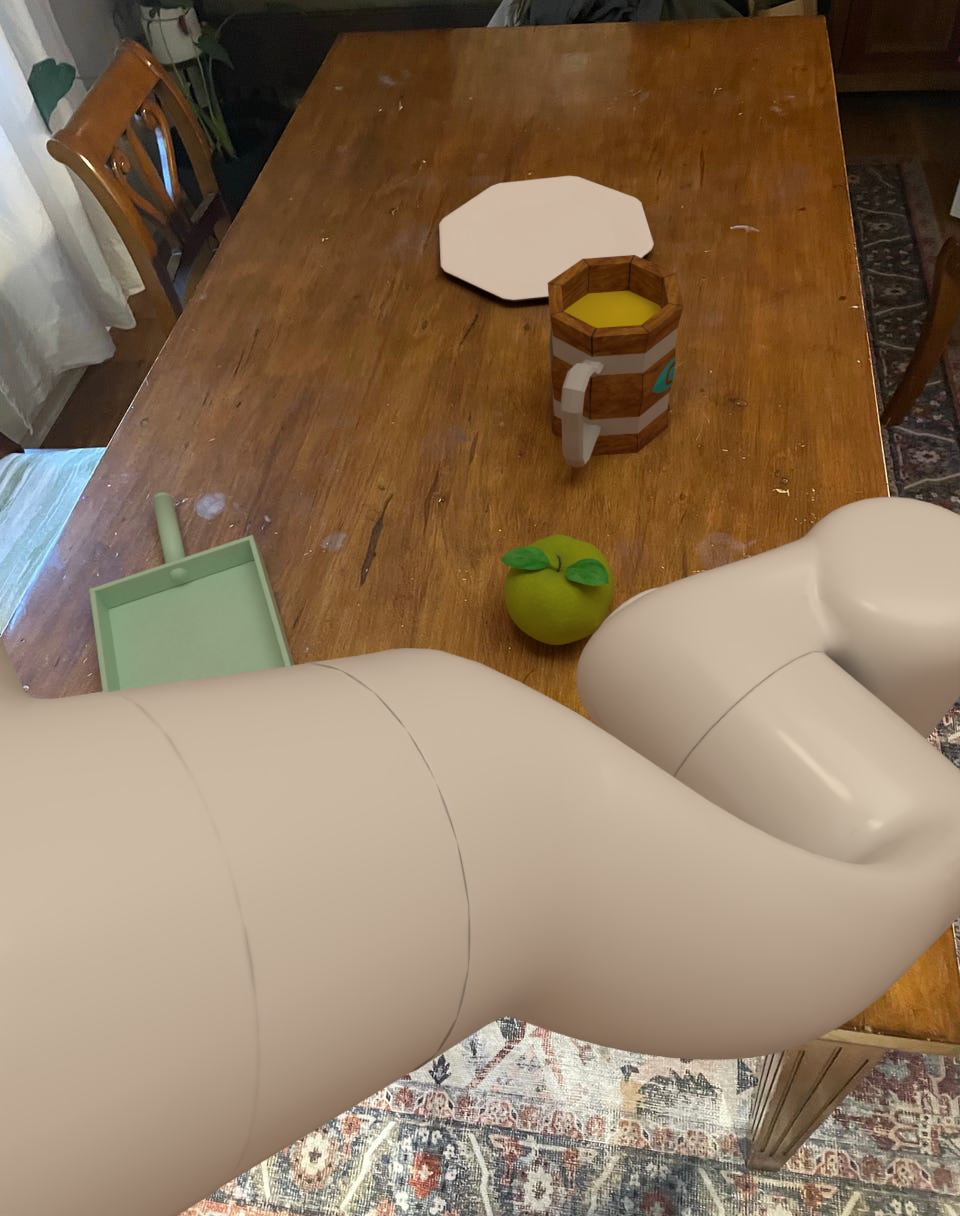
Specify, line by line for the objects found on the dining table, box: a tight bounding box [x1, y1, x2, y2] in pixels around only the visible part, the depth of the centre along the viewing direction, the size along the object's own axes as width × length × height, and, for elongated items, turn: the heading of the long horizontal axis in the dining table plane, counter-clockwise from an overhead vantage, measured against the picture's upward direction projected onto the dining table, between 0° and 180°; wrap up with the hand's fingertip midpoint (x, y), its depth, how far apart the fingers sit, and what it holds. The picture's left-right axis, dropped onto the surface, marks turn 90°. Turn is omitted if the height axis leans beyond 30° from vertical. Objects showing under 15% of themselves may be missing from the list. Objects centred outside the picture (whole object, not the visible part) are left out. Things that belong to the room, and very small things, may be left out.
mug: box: [548, 255, 684, 468], centre depth 86 cm, size 20×14×15 cm
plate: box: [438, 175, 655, 302], centre depth 113 cm, size 28×28×2 cm
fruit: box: [501, 533, 615, 646], centre depth 74 cm, size 9×9×10 cm
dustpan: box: [88, 491, 296, 692], centre depth 81 cm, size 28×16×3 cm, turn 21°
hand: (747, 861), depth 54 cm, fingers closed on soda can, 5 cm apart
